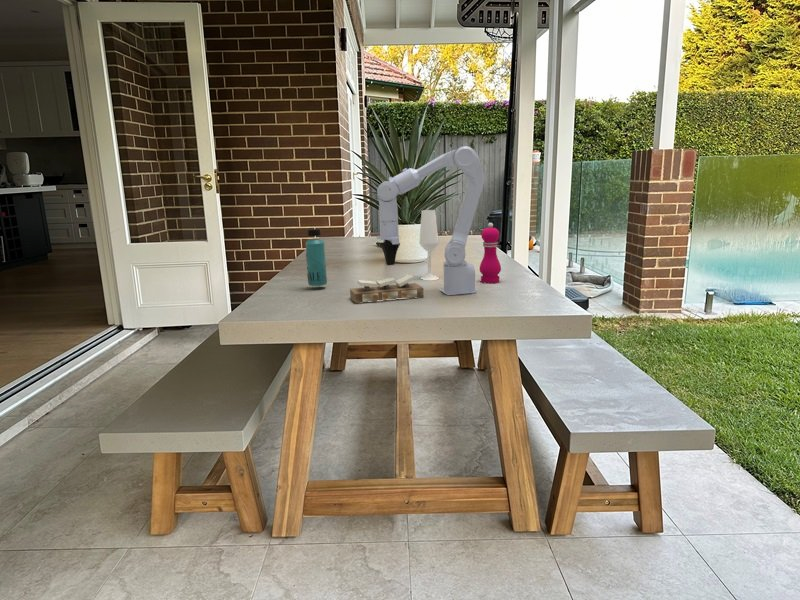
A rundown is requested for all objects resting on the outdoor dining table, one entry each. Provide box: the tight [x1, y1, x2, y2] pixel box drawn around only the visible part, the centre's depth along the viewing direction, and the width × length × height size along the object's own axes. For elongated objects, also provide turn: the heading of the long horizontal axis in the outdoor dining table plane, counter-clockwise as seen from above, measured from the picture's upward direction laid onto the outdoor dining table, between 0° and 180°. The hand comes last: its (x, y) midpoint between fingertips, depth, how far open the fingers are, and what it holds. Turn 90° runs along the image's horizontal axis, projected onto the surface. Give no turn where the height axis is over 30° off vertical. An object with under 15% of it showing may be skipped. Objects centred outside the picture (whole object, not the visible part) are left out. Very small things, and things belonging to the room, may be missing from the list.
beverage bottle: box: [305, 228, 328, 287], centre depth 183 cm, size 6×7×20 cm
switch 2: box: [375, 276, 397, 287], centre depth 167 cm, size 5×4×1 cm
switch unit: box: [349, 282, 424, 304], centre depth 167 cm, size 21×8×4 cm, turn 106°
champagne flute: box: [419, 209, 440, 281], centre depth 193 cm, size 7×7×24 cm
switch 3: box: [395, 273, 415, 287], centre depth 168 cm, size 5×4×1 cm
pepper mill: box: [479, 222, 502, 284], centre depth 185 cm, size 7×7×20 cm
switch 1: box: [356, 279, 378, 287], centre depth 165 cm, size 5×4×1 cm
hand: (390, 264), depth 173 cm, fingers closed
